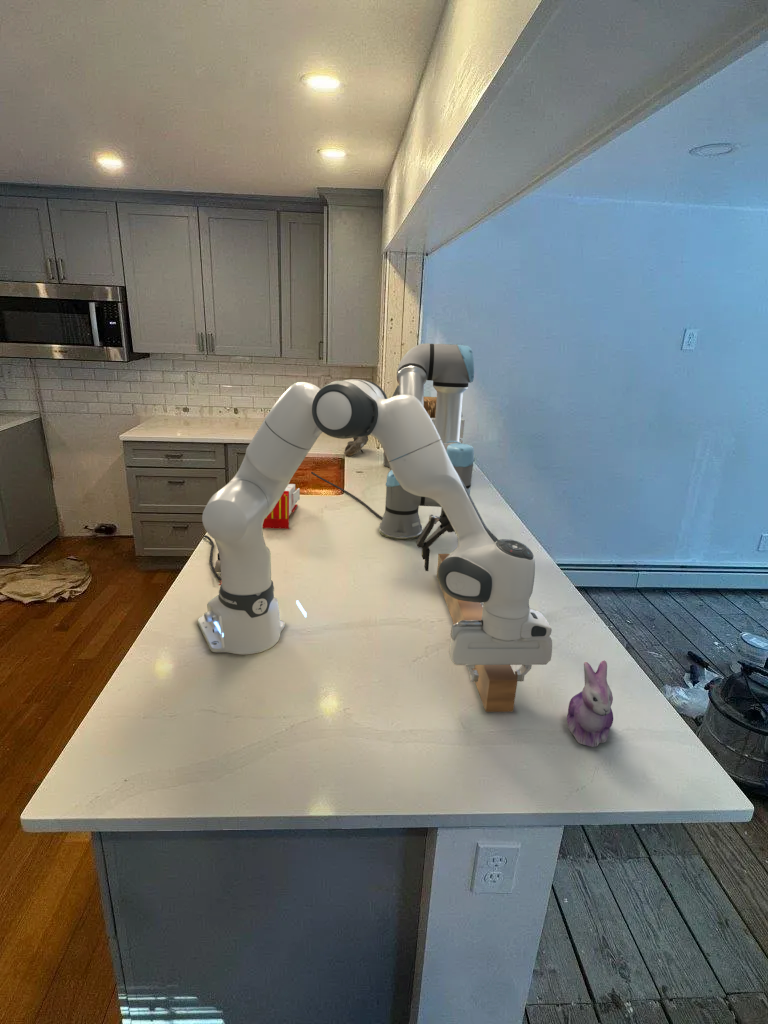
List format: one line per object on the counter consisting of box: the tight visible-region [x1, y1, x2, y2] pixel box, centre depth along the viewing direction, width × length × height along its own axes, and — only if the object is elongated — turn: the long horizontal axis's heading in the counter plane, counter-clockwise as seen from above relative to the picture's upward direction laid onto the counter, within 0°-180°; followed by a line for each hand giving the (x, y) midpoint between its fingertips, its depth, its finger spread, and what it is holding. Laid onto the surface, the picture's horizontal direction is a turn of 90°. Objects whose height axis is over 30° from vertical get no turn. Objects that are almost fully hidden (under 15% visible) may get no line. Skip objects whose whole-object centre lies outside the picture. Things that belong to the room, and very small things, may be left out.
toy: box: [262, 483, 301, 530], centre depth 210 cm, size 12×13×30 cm
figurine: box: [566, 660, 614, 748], centre depth 106 cm, size 9×10×15 cm
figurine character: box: [214, 552, 221, 574], centre depth 166 cm, size 7×8×15 cm
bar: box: [436, 553, 519, 713], centre depth 140 cm, size 60×6×8 cm, turn 4°
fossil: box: [343, 435, 369, 457], centre depth 306 cm, size 22×10×15 cm
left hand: (496, 679), depth 116 cm, fingers open, 8 cm apart
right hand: (449, 569), depth 164 cm, fingers open, 13 cm apart
